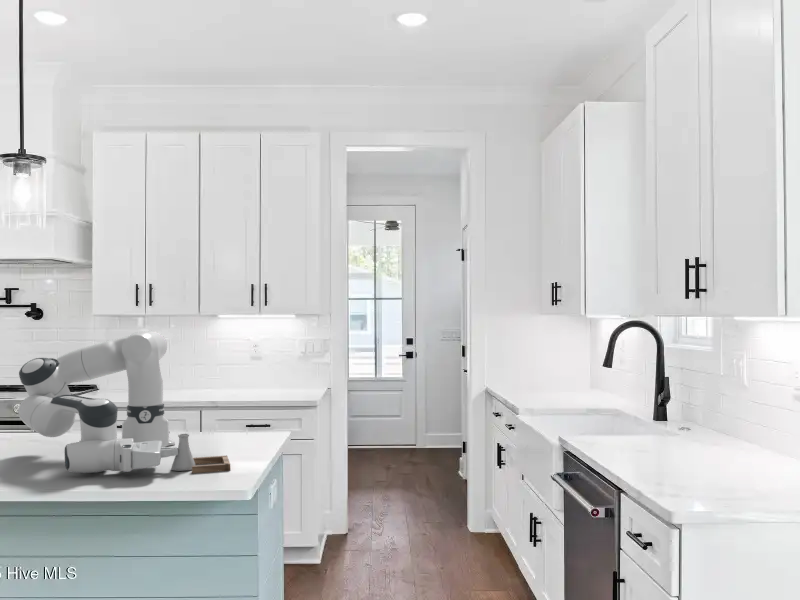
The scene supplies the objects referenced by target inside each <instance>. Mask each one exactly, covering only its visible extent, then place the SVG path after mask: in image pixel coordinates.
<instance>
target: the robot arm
mask: <svg viewBox="0 0 800 600" xmlns="http://www.w3.org/2000/svg"><path fill="white" fill-rule="evenodd" d="M167 350H168V342H167V340H166V338H165V337H164V336H163V335H162V333H159V332H158V331H154V330H146V331H137V332H134V333H131V334H130V335H128V336H124V337H119V338H115V339H111V340H107V341H103V342H100V343H95V344H92V345H88V346H84V347H82V348H77V349H75V350H72V351H69V352H67V353H65V354H63V355H61V356H59V357H58V358H57V359H56V358H54V357H53V358H52V357H50V358H47V357H38V358H37V357H36V358H33V359H31V360H29V361H27V362H25V363H24V364H23V365H22V366H21V368H20V370H19V372H18V377H19V379H20V382H21V384H22V385H23V387H24V389H25V391H26V392H27V395H28V396H27V397H26V398H24V399H23V400H22V401H21V402H20V404H19V406H18V410H17V411H18V417H19V419H20V420H21V421H22V422H23V423H24V424H25V426H26V427H28V428H29V429H31V430H32V431H34V432H36V433H37V434H39V435H42V436H44V437H46V438H57V437H61V436H63V435H64V434H66V433H67V432H68V431H70V429H71V428H72V427H73V426H74V424H75V421H76V414H78V417H79V422H80V425H79V426H80V440H79V441H76V442H71V443H67V444H66V445H65V447H64V465H65V469H66V470H67V471H68V472H71V473H76V474H77V473H80V474H81V473H82V474H87V473H92V474H93V473H101V472H105V471H111V472H119V471H120V472H121V471H122V472H125V473H127V472H132V471H133V470H138V469H145V468H146V469H147V468H152V467H156V466H160V465H161V460H162V459H163V458H168V457H173V456H174V457H175V456H176V455H178V446H177V447H176V446H175V447H171V446H174V445H176V442H175V440H173V439H172V438H171V437H170V434H171V433H170V425H169V424H170V423H169V420H168V419H167V418H166V417H165V416H164V415H165V410H166V409H165V403H164V384H163V383H164V382H163V381H164V380H163V377H162V371H161V365H160V361H161V359H162V358H164V356H165V354H166V352H167ZM122 371H126V374H127V375H126V376H127V381H128V383H127V384H128V386H127V387H128V388H127V389H128V391H127V393H128V399H127V401H128V403H127V406H126V416H127V418H125V420H124V421H123V422H122V424H121V438H117V437H118V429H117V428H118V427H117V426H118V423H117V422H118V410H119V409H118V406H117V405H116V404H115V403H114V402H113V401H111V400H110V399H108V398H107V399H106V398H92V397H87V396H80V395H76V394H75V395H74V394H73V393H71V391H70V389H69V388H70V387H69V385H70V384H74V383H80V382H85V381H90V380H94V379H97V378H101V377H105V376H108V375H112V374H116V373H118V372H122ZM169 446H170V447H169Z"/></svg>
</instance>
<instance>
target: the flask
mask: <svg viewBox="0 0 800 600" xmlns="http://www.w3.org/2000/svg"><path fill="white" fill-rule="evenodd" d="M177 437H178V446H177V448H178V455H176V456H174V459H173V463H172V464H171V468H170V469H171V471H178V472H180V471H181V472H184V471H192V466H196V465H195V462H194V459H193V458H194V456H193V454H192V451H191V449H190V444H189V443H190V442H189V437H190V433H178V434H177Z"/></svg>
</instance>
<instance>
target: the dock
mask: <svg viewBox="0 0 800 600" xmlns="http://www.w3.org/2000/svg"><path fill="white" fill-rule="evenodd" d="M193 459H194V462H195V465H196V466H192V470H191V473H192V474H202V473H214V472H229V471H231V463H230V460H229V457H228V455H216V456H215V455H213V456H211V455H210V456H201V457H198V456H197V457H193Z"/></svg>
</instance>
